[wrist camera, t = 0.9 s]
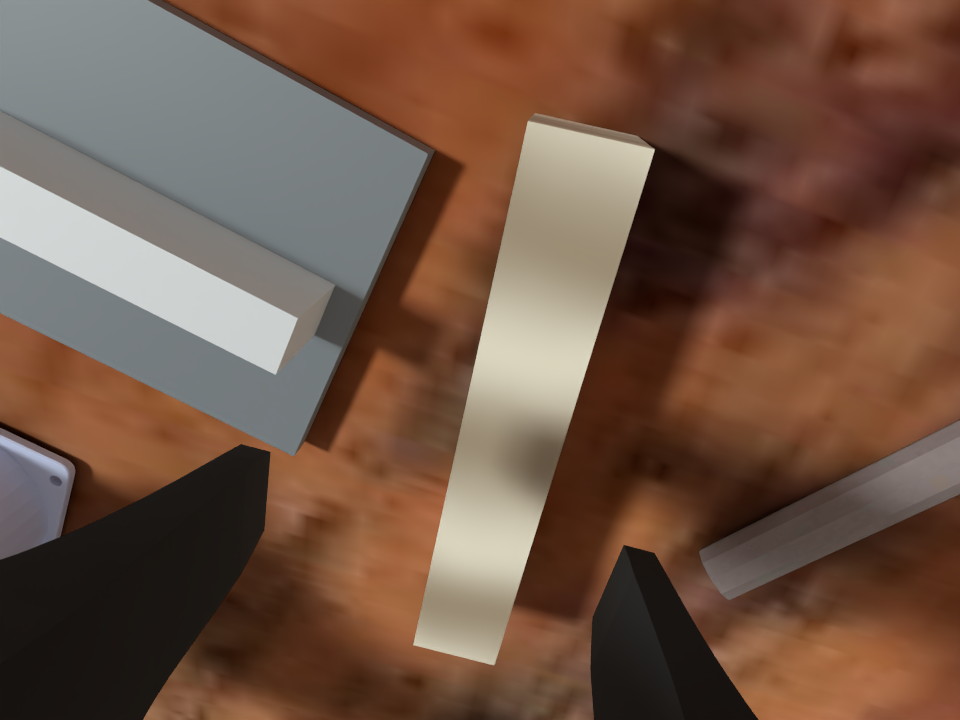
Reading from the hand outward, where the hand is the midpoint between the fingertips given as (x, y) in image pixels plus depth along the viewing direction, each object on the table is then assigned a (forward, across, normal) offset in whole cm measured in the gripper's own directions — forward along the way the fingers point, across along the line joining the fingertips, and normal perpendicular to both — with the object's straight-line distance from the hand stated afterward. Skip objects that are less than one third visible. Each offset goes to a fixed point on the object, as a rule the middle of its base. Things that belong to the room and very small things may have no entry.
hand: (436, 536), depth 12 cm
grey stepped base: (+10, +11, -2) cm, 15 cm away
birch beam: (+10, -1, +2) cm, 10 cm away
